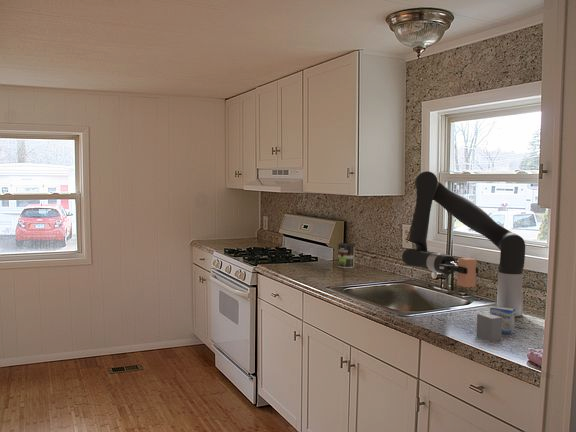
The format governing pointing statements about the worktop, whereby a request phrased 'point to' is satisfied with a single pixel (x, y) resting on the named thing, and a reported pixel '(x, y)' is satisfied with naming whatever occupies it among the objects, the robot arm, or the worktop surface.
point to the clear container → (346, 255)
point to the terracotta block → (470, 277)
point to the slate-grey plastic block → (489, 327)
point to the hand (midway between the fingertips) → (472, 270)
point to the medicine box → (505, 318)
